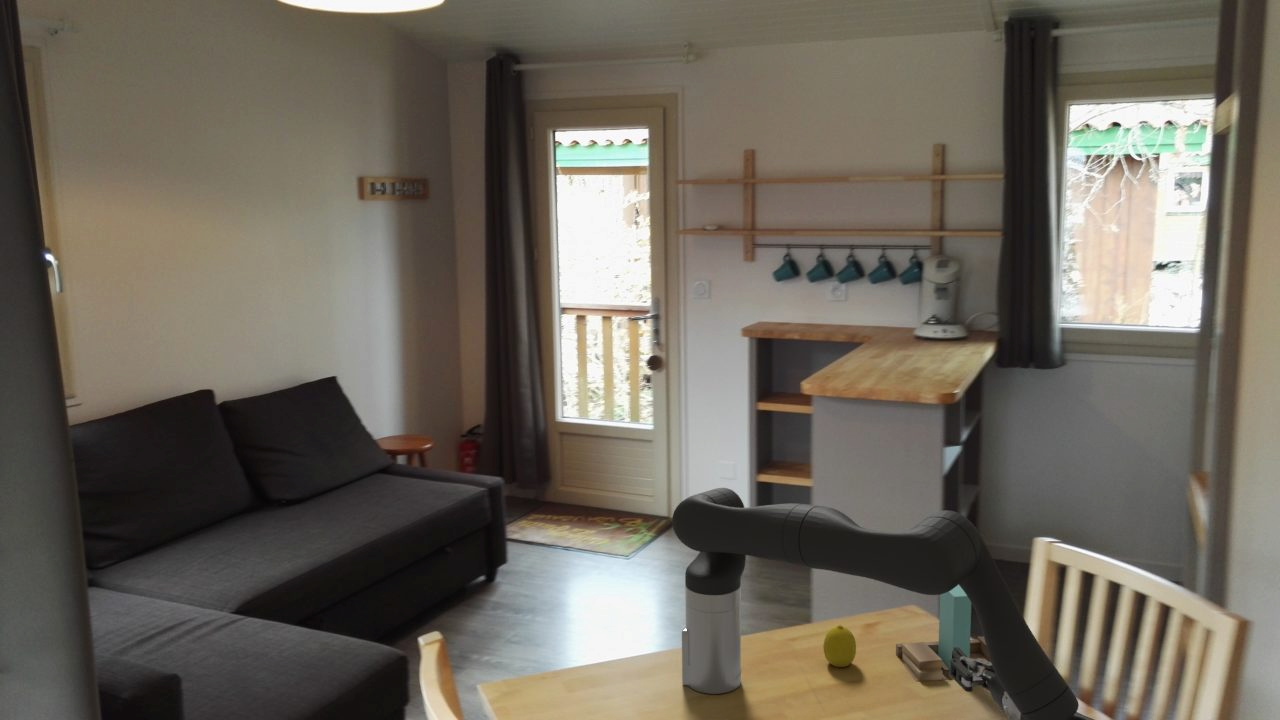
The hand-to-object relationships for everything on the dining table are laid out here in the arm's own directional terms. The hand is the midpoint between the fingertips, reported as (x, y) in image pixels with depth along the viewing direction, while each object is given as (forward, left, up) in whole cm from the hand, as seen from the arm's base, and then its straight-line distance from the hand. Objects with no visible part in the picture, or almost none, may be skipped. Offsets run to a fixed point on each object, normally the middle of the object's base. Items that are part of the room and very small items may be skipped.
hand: (981, 651), depth 160 cm
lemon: (-23, +5, -9) cm, 26 cm away
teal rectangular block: (-5, +10, -8) cm, 14 cm away
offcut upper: (-10, +8, -7) cm, 14 cm away
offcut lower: (-10, +7, -8) cm, 15 cm away
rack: (-5, +11, -9) cm, 15 cm away
